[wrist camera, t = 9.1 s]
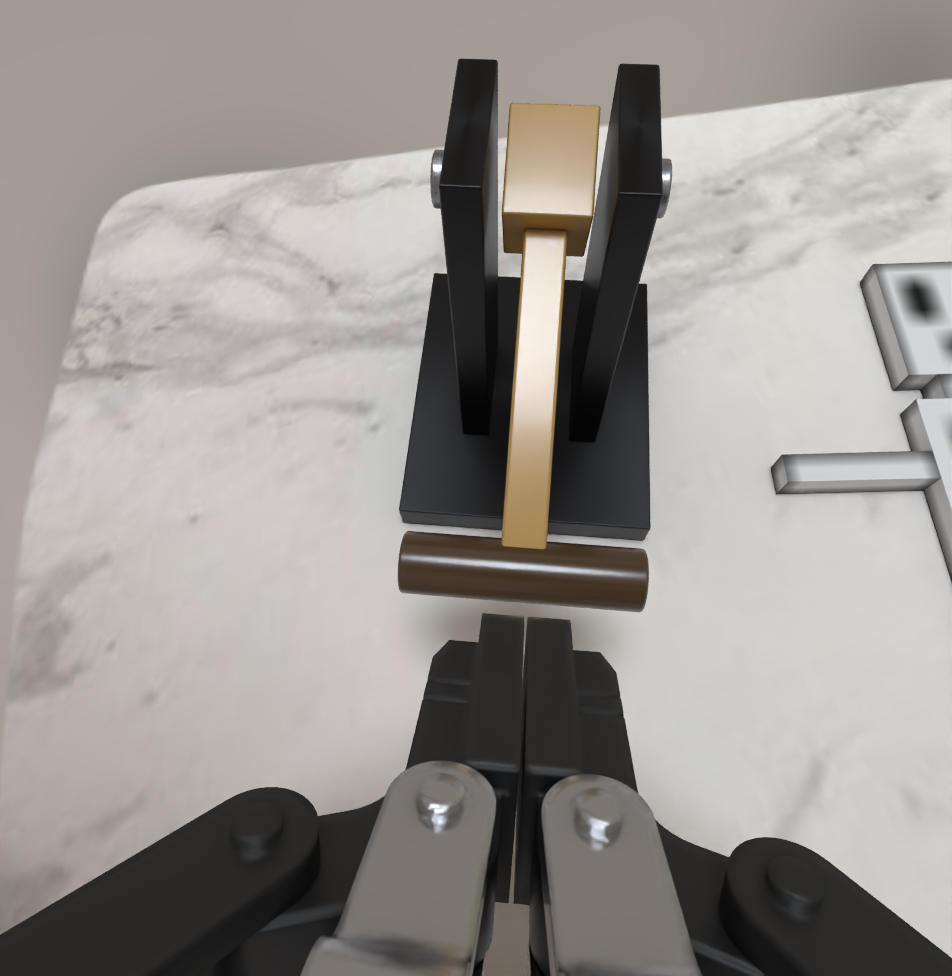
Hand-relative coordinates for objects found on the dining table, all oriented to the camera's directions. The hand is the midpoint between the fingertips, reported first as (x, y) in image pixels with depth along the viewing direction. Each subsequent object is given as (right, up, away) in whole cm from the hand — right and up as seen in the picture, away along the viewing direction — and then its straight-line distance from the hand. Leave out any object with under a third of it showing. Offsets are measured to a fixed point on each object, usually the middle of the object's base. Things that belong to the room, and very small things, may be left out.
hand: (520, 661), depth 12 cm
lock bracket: (+1, +6, +16) cm, 17 cm away
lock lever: (+1, +6, +7) cm, 9 cm away
